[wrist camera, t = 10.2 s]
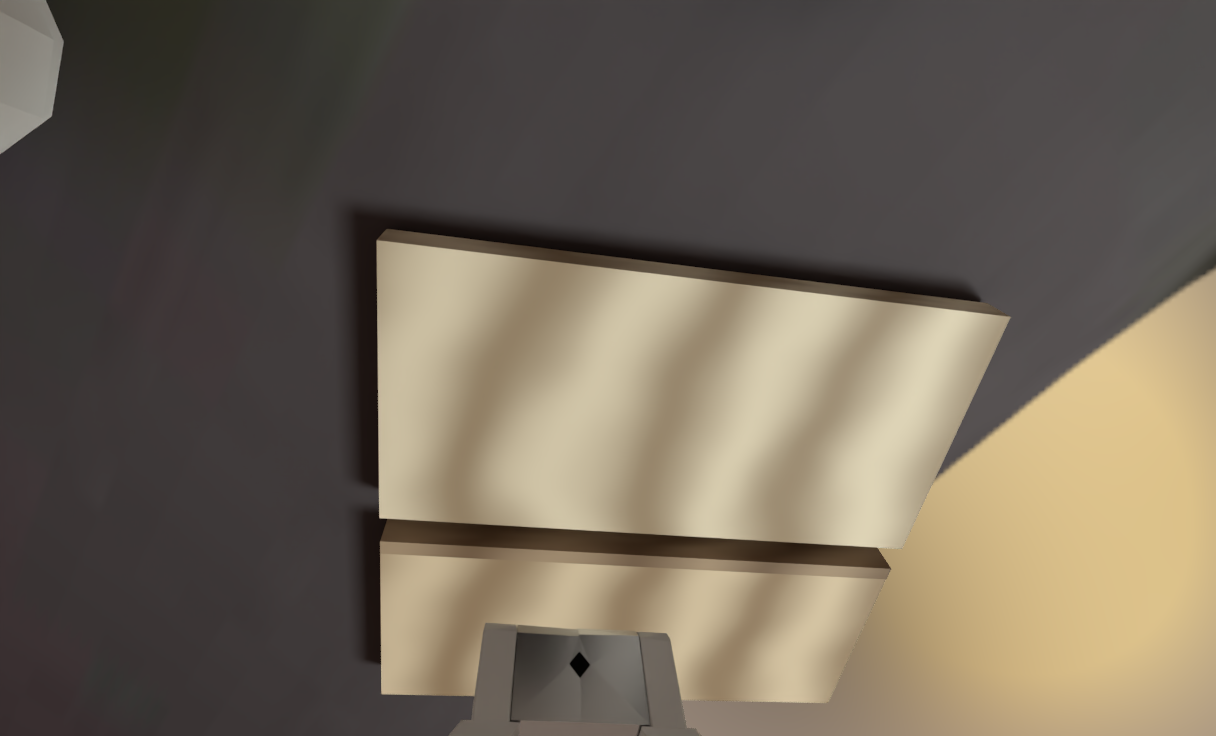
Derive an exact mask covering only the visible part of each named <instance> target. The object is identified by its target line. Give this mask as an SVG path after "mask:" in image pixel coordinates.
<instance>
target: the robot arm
mask: <svg viewBox="0 0 1216 736" xmlns="http://www.w3.org/2000/svg"><path fill="white" fill-rule="evenodd" d="M449 736H701V734H700V733H699V732H698V731H697V730H696V729H694V728H687V727H686V721H685V716H684V711H683V706H682V700H681V694H680V689H679V683H678V678H677V673H676V667H675V662H674V656H673V651H672V645H671V640H670V638H669V636H668V634H667V633H654V632H635V631H627V630H603V629H579V628H577V629H564V628H552V627H540V626H528V625H517V626H516V625H513V624H499V623H485V627H484V630H483V636H482V644H481V651H480V659H479V666H478V673H477V681H476V688H475V696H474V703H473V710H472V718H471V720H461V721H460V722H459V724H458V725H457V726H456V727H455V729H454V730H453V731H452V732H451V733H450V735H449Z"/></svg>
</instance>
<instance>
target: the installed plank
mask: <svg viewBox="0 0 1216 736" xmlns="http://www.w3.org/2000/svg"><path fill="white" fill-rule="evenodd" d="M890 570H891V568H890V567H889V565H888V563H887V562H886V560H885V559H884V557H883V556H882V554H881V553H880V551H879V550H878V548H877V547H860V546H843V545H826V544H809V543H792V542H775V541H758V540H741V539H724V538H707V537H690V536H673V535H657V534H640V533H623V532H606V531H589V530H572V529H555V528H538V527H521V526H504V525H487V524H470V523H453V522H436V521H419V520H402V519H387V522H386V525H385V528H384V531H383V534H382V537H381V540H380V587H381V692H382V694H401V695H452V696H475V688H476V681H477V673H478V666H479V659H480V651H481V644H482V636H483V630H484V627H485V623H499V624H513V625H516V626H517V625H528V626H540V627H552V628H564V629H577V628H579V629H603V630H627V631H635V632H654V633H667V634H668V636H669V638H670V640H671V645H672V651H673V656H674V662H675V667H676V673H677V678H678V683H679V689H680V694H681V700H707V701H757V702H758V701H759V702H807V703H810V702H811V703H828V702H829V700H830V698H831V696H832V693H833V691H834V689H835V687H836V685H837V683H838V681H839V678H840V676H841V674H842V672H843V670H844V668H845V666H846V664H847V661H848V659H849V657H850V655H851V653H852V651H853V648H854V646H855V644H856V642H857V640H858V638H859V636H860V633H861V632H862V629H863V627H864V625H865V623H866V621H867V619H868V617H869V614H870V612H871V610H872V608H873V606H874V604H875V602H876V599H877V597H878V595H879V593H880V591H881V589H882V587H883V585H884V582H885V580H886V579H887V577H888V575H889V572H890Z"/></svg>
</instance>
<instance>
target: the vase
mask: <svg viewBox="0 0 1216 736" xmlns="http://www.w3.org/2000/svg"><path fill="white" fill-rule="evenodd" d="M63 43H64V41H63V39H62V37H61V34H60V32H59V30H58V27H57V25H56V23H55V21H54V18H53V16H52V14H51V11H50V9H49V7H48V4H47V2H46V0H0V154H1V153H2V152H4V151H5V150H7V149H8V148H9V147H11V146H12V145H13V144H15V143H16V142H17V141H19V140H20V139H21V138H23V137H24V136H26V135H27V134H28V133H30V132H31V131H32V130H34V129H35V128H36V127H38V126H39V125H41V124H42V123H43V122H45V121H46V120H47V119H49V118H50V117H51V116H52V111H53V105H54V99H55V93H56V86H57V80H58V74H59V68H60V62H61V56H62V49H63Z"/></svg>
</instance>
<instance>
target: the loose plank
mask: <svg viewBox="0 0 1216 736" xmlns="http://www.w3.org/2000/svg"><path fill="white" fill-rule="evenodd" d="M1009 319H1010V316H1008V315H1006V314H1005V313H1003V312H1001V311H1000V310H998V309H996V308H994V307H993V306H991V305H989V304H988V303H982V302H974V301H966V300H958V299H950V298H942V297H934V296H926V295H918V294H910V293H901V292H893V291H885V290H877V289H869V288H861V287H853V286H845V285H837V284H829V283H821V282H813V281H805V280H797V279H788V278H780V277H772V276H764V275H756V274H748V273H740V272H732V271H724V270H716V269H708V268H700V267H692V266H684V265H675V264H667V263H659V262H651V261H643V260H635V259H627V258H619V257H611V256H603V255H595V254H587V253H579V252H571V251H562V250H554V249H546V248H538V247H530V246H522V245H514V244H506V243H498V242H490V241H482V240H474V239H466V238H458V237H449V236H441V235H433V234H425V233H417V232H409V231H401V230H393V229H386V230H385V231H384V232H383V233H382V235H381V236H380V237H379V238H378V239H377V330H378V436H379V518H385V519H402V520H419V521H436V522H453V523H470V524H487V525H504V526H521V527H538V528H555V529H572V530H589V531H606V532H623V533H640V534H657V535H673V536H690V537H707V538H724V539H741V540H758V541H775V542H792V543H809V544H826V545H843V546H860V547H877V548H894V549H902V547H903V546H904V543H905V541H906V539H907V537H908V535H909V533H910V531H911V529H912V526H913V524H914V522H915V520H916V518H917V516H918V514H919V511H920V509H921V507H922V505H923V503H924V501H925V499H926V496H927V494H928V492H929V490H930V488H931V486H932V484H933V482H934V479H935V477H936V475H937V473H938V471H939V469H940V467H941V464H942V462H943V460H944V458H945V456H946V454H947V452H948V449H949V447H950V445H951V443H952V441H953V439H954V437H955V435H956V432H957V430H958V428H959V426H960V424H961V422H962V420H963V417H964V415H965V413H966V411H967V409H968V407H969V405H970V402H971V400H972V398H973V396H974V394H975V392H976V390H977V388H978V385H979V383H980V381H981V379H982V377H983V375H984V373H985V370H986V368H987V366H988V364H989V362H990V360H991V358H992V355H993V353H994V351H995V349H996V347H997V345H998V343H999V341H1000V338H1001V336H1002V334H1003V332H1004V330H1005V328H1006V326H1007V323H1008V321H1009Z"/></svg>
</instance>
